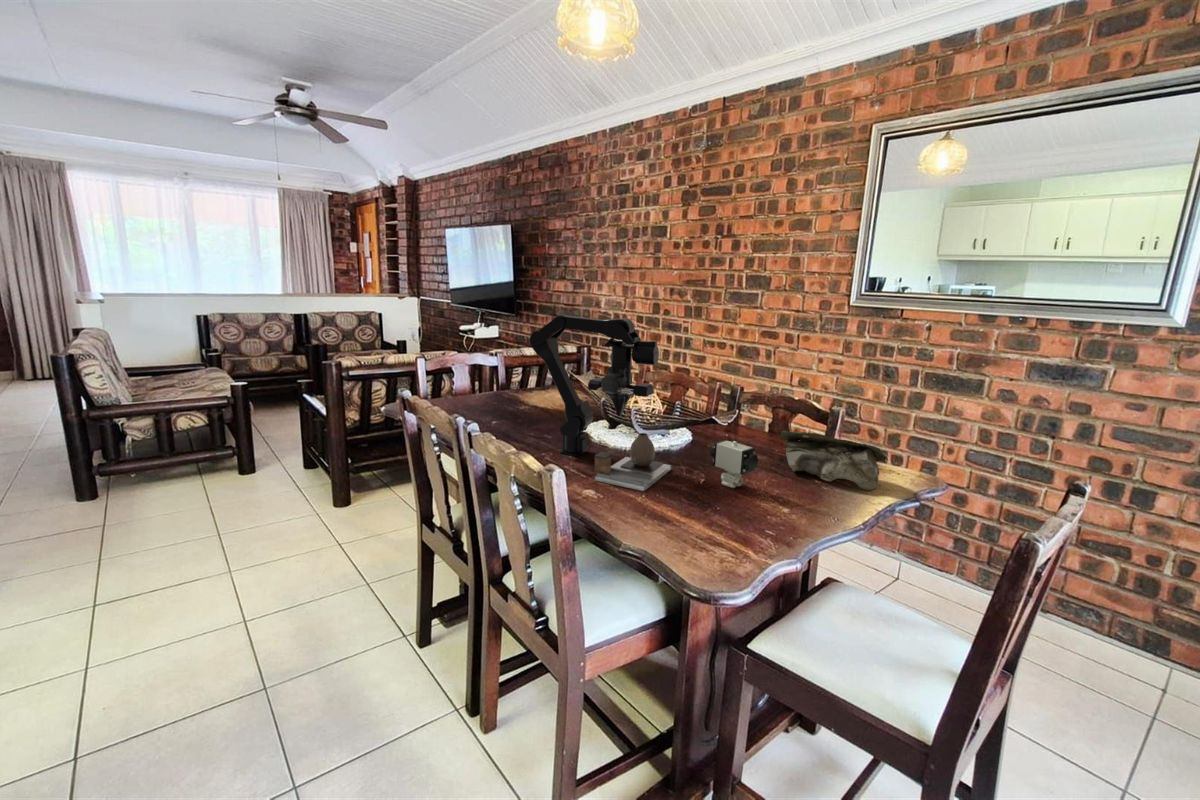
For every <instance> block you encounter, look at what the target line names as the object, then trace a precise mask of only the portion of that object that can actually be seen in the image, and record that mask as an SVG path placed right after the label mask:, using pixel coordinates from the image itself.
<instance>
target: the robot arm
mask: <svg viewBox="0 0 1200 800" xmlns="http://www.w3.org/2000/svg"><path fill="white" fill-rule="evenodd" d="M565 330H573V331H581V332H588V333H597V334H601V335H603V336H605V337H608V338H609V340H608V341H607V342H605V343H604V347H609V348H611V360H610V366H609V367H608V371H607V374H605V375H604V376H603V377H595V378H592V379H589V380H588V382H587V390H590V391H598V390H599V389H600V388H601V391H602V392H603V393H604V394H605V396H607V395H608V396H609V398H610V399H611V401H612V404H613V406H614V410H615V413H616V416H617V417H621V416H622V415H623V412H624V410H625V409H626V406H627V404H628V402H629V401H630V399H631V398H632V396H635V397H643V398H646V397H649V396H651V395H654V394H655V393H654V392H655V391H654V390H655V388H654V386H653V384H652V383H646V382H645V383H644V382H639V383H637V384H633V379H631V378H632V377H631V376H632V371H633V369H634V365H632V361H633V362H634V363H635V364H636V365H641V366H642V365H645V366H654V367H655V366H657V365H658V362H659V357H660V352H659V347H658V341H657V340H650V341H649V340H642V339H641V337H640V335H639V334H638V333H637V331H636V326H635V324H634V322H633V321H632V319H630V318H629V317H624V318H621V317H620V318H609V319H600V318H591V317H582V316H577V315H576V316H575V315H569V314H565V313H564V314H558V315H556V316H555V317H554V318H553V319H551V321H550V322H548V323H547V324H545V325H544V326H542V327H541V328H540V329H539V330H538V329H537V330H534V331H533V332H532V333H531V334H530V337H529V340H528V341H529V345H530V347H531V348H532V350H533V351H534V353H535V354H536V355H537V356H538V357H539V358H540V359H541V360H543V362H544V364H545V365H546V368H547V370H548V372H549V375H550V376H551V379H552V380H553V382H554V385H555V387H556V389H557V392H558V393H559V395H560V398H561V400H562V402H563V404H564V415H565V418H566V422H565V423H564V424H563V425H562V426H561V427H560V428H559V431H560V434H561V436H562V449H560V450H559V453H561V454H566V455H570V456H575V457H579V456H580V455H582V454H584V453H586V452H588V451H589V449H588V448H587V442H588V441H587V439H588V438H587V437H586V432H585V431H586V430H587V428H588V427H589V426H590V425H591V424H592V423H593V421H594V415H593V413H594V410H593V409H592V408H591V405H590V402H589V400H588V399H587V400H584V401H583V400H582V399H581V398H580V397H579V395H578V393H577V390H576V388H575V386H574V385H573V382H572V380H571V378H570V376H569V374H568V371H567V370H566V367H565V365H564V363H563V360H562V359H561V357H560V355H559V344H558V340H557V339H558V338H560V337H561V336H562V334H563V332H565Z"/></svg>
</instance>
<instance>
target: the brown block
mask: <svg viewBox="0 0 1200 800" xmlns="http://www.w3.org/2000/svg"><path fill="white" fill-rule="evenodd" d="M612 455H613V454H612V453H608V452H603V451H600V452H599V453H597V454H595V455H594V475H597V473H598V472H600V473H605V474H608V473H610V472H611V466H612Z"/></svg>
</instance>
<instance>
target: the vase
mask: <svg viewBox="0 0 1200 800" xmlns="http://www.w3.org/2000/svg"><path fill="white" fill-rule="evenodd" d="M629 448H630V449H629V456H630V458H631V460H632V462H633V463H634V464H635V465H637V466H641V467H644V466H648V465H650V464H651V463H652V461H654V459H655V454H656V450H655V449H656V448H655V445H654V444H653V441H652V440H651V439H650V438H649V435H648V434H647V433H645V432H641V433H638V435H637V437H636V438H635V439H634V440H633V442H632V443H631V445H630V447H629Z"/></svg>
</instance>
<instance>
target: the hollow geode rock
mask: <svg viewBox="0 0 1200 800" xmlns="http://www.w3.org/2000/svg"><path fill="white" fill-rule="evenodd" d="M779 438H781V439H784V440H785V455H786V461H787V464H788V466H789V468H791V471H792V472H805V473H809V474H811V475H816V476H817V477H819V478H820V479H821V480H823V481H827V482H832V481H834V480H837V479H844V480H848V481H851V482H853V483H854V484H855V485H857V487H859V488H860V489H862V490H865V491H872V490H874V489H876V488H877V487H878V486H879V485H878V484H879V475H880V469H879V465H878V462H884V463H885V462H886V461H889V458H888V456H886V455H884V454H883V453H882V451H881V449H880V448H879V447H877V446H875V445H870V444H868V443H865V442H863V443H862V442H861V443H860V442H859V443H858V442H855V441H853V440H852V441H851V440H847V439H839V438H836V437H831V436H827V435H825V434H824V435H823V434H819V433H811V432H806V431H800V432H799V431H797V432H795V431H790V430H789V431H787V430H781V432H780V436H779Z"/></svg>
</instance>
